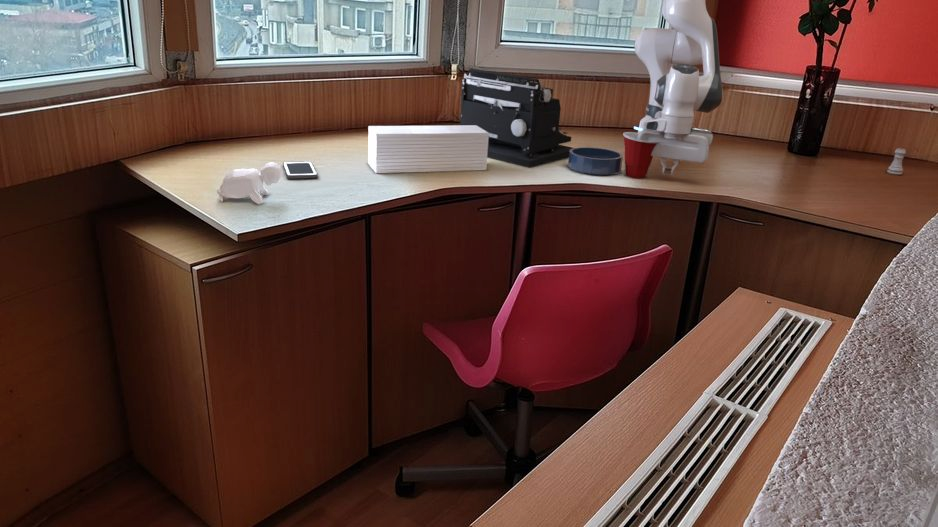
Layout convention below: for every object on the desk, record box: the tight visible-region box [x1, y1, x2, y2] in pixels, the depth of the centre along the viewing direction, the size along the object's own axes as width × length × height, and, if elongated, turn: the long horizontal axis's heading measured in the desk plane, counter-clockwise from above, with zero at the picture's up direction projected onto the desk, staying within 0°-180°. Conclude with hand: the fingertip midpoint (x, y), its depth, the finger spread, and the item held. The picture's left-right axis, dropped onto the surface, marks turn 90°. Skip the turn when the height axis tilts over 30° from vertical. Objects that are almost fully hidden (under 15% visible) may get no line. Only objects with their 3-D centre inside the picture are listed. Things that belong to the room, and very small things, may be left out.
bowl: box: [567, 146, 624, 176], centre depth 212 cm, size 16×16×5 cm
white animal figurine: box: [216, 161, 284, 205], centre depth 166 cm, size 9×8×15 cm
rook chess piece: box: [886, 147, 907, 176], centre depth 230 cm, size 4×4×8 cm
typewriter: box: [459, 67, 574, 168], centre depth 225 cm, size 31×27×25 cm
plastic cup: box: [622, 131, 659, 180], centre depth 206 cm, size 11×11×12 cm
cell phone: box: [282, 160, 318, 180], centre depth 191 cm, size 8×15×1 cm, turn 18°
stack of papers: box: [367, 124, 489, 174], centre depth 202 cm, size 32×11×11 cm, turn 109°
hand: (667, 173), depth 204 cm, fingers closed
